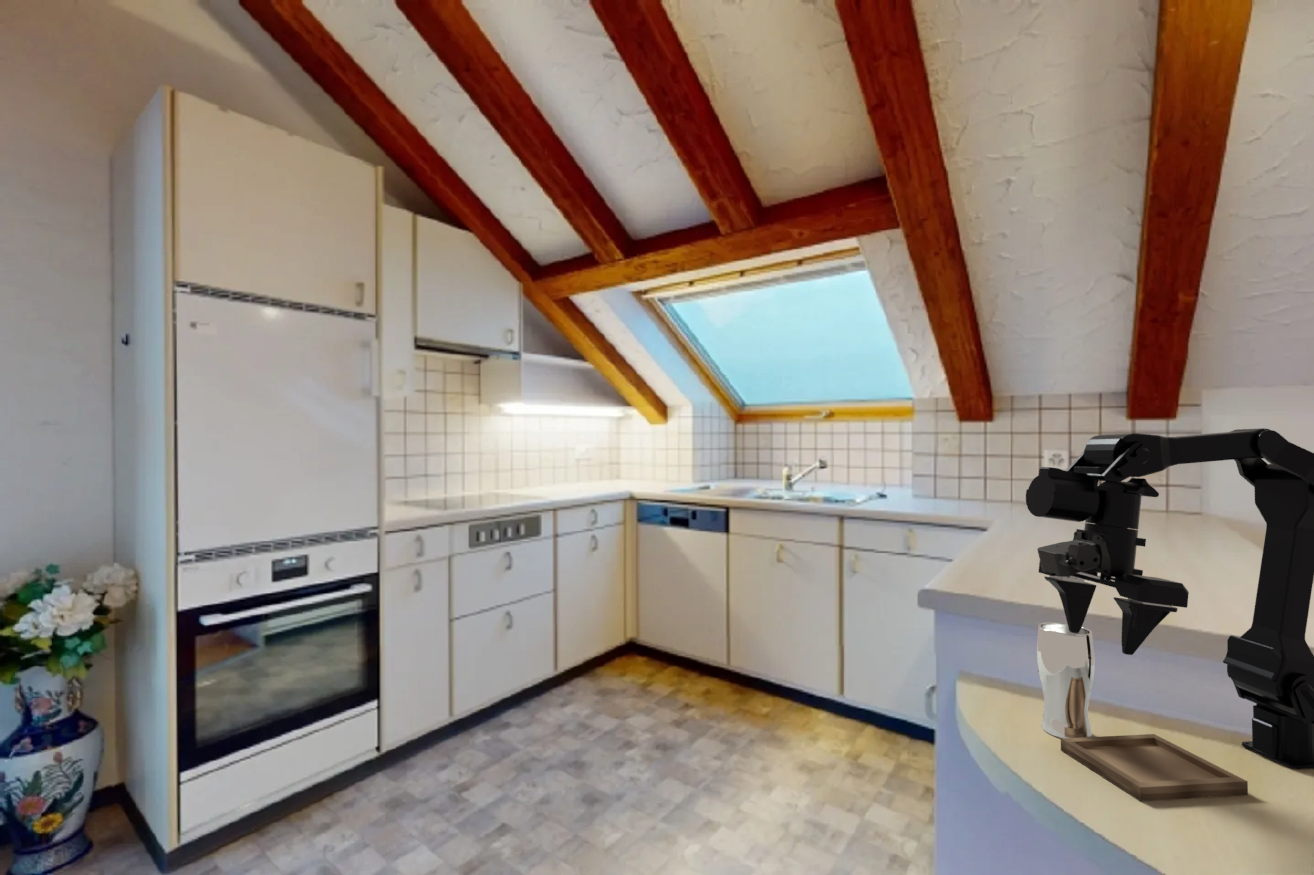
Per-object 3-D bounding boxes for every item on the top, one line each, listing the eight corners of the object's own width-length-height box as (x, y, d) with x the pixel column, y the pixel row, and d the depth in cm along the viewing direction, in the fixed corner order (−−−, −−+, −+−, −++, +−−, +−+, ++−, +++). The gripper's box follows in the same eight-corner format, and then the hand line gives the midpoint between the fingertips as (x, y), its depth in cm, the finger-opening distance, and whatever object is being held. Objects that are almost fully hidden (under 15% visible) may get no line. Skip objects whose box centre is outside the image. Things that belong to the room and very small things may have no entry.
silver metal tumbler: (1105, 745, 83) (1104, 636, 83) (1050, 740, 84) (1048, 633, 85) (1081, 723, 90) (1079, 623, 90) (1030, 719, 91) (1028, 620, 92)
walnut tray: (1154, 745, 83) (1154, 733, 83) (1247, 794, 71) (1247, 781, 71) (1060, 750, 82) (1060, 738, 82) (1140, 801, 70) (1140, 787, 70)
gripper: (1009, 512, 89) (998, 616, 89) (1107, 527, 71) (1093, 659, 70) (1081, 521, 90) (1070, 625, 89) (1198, 538, 71) (1185, 670, 70)
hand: (1099, 642), depth 80 cm, fingers open, 9 cm apart
